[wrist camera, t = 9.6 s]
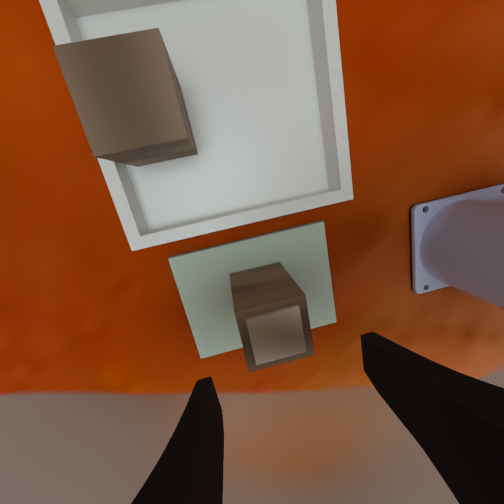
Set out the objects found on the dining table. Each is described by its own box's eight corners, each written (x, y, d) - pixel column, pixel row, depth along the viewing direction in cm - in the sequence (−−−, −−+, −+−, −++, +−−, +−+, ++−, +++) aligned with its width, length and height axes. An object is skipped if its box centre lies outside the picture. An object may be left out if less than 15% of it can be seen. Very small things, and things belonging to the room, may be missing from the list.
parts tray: (311, -31, 15) (329, -71, 13) (336, 197, 19) (353, 199, 17) (61, 10, 14) (29, -26, 12) (143, 242, 18) (131, 251, 16)
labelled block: (287, 306, 20) (315, 356, 14) (240, 318, 20) (249, 374, 14) (279, 261, 19) (306, 296, 13) (229, 273, 19) (234, 314, 13)
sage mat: (320, 220, 19) (323, 221, 19) (333, 318, 22) (336, 322, 21) (169, 256, 19) (168, 258, 18) (201, 354, 21) (201, 358, 21)
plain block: (180, 86, 15) (158, 27, 10) (198, 154, 16) (187, 137, 11) (115, 99, 15) (52, 46, 9) (137, 166, 16) (93, 156, 10)
